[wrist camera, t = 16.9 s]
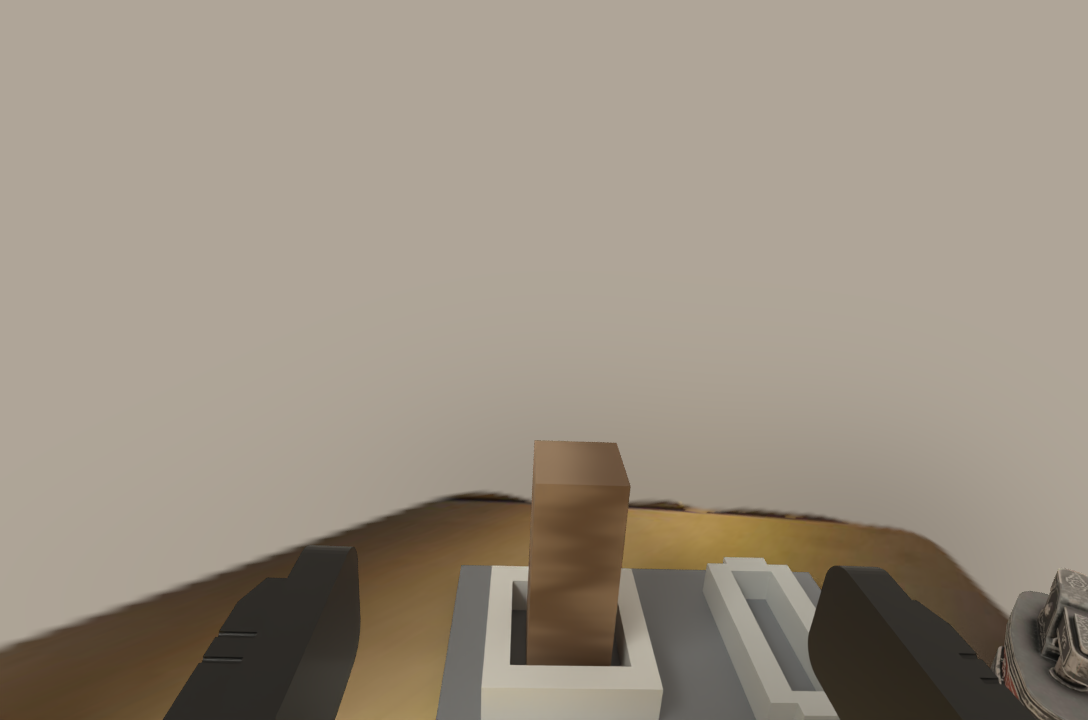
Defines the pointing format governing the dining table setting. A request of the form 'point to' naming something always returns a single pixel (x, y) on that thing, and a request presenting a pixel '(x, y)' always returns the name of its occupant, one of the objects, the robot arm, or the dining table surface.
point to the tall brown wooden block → (575, 552)
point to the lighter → (1049, 650)
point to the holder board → (644, 649)
